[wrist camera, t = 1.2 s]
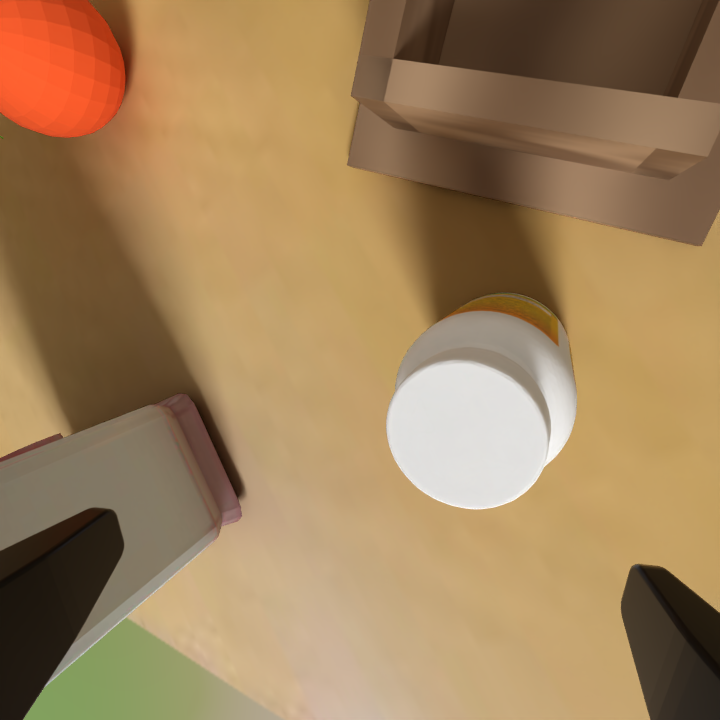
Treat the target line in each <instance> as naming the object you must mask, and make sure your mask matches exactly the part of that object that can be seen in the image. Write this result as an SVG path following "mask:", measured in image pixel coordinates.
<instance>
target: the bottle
mask: <svg viewBox="0 0 720 720" xmlns="http://www.w3.org/2000/svg"><path fill="white" fill-rule="evenodd" d="M92 507H99V508H108V509H112V510H114V511H115V512H116V514H117V517H118V520H119V524H120V528H121V531H122V535H123V539H124V551H123V554H122V557H121V559H120V560H119V562H118V564H117V566H116V568H115V570H114V571H113V573H112V575H111V577H110V579H109V580H108V582H107V584H106V586H105V588H104V590H103V591H102V593H101V595H100V597H99V599H98V600H97V602H96V604H95V606H94V608H93V610H92V611H91V613H90V615H89V617H88V619H87V620H86V622H85V624H84V626H83V627H82V629H81V631H80V633H79V634H78V636H77V638H76V640H75V641H74V643H73V644H72V646H71V647H70V649H69V651H68V652H67V654H66V655H65V657H64V658H63V660H62V661H61V663H60V664H59V666H58V667H57V669H56V670H55V672H54V673H53V675H52V676H51V678H50V679H49V681H48V682H47V684H46V685H48V684H49V683H50V682H51V681H52V680H53V679H55V678H56V677H57V676H58V675H59V674H60V673H62V672H63V671H64V670H65V669H66V668H67V667H68V666H70V665H71V664H72V663H73V662H74V661H76V660H77V659H78V658H79V657H80V656H81V655H83V654H84V653H85V652H86V651H87V650H88V649H90V647H92V646H93V645H94V644H95V643H97V642H98V641H99V640H100V639H101V638H102V637H103V636H105V635H106V634H107V633H108V632H109V631H110V630H111V629H113V628H114V627H115V626H116V625H117V624H118V623H120V622H121V621H122V620H123V619H124V618H126V617H127V616H128V615H129V614H130V613H131V612H133V611H134V610H135V609H136V608H137V607H138V606H140V605H141V604H142V603H143V602H144V601H145V600H147V599H148V598H149V597H150V596H151V595H152V594H153V593H155V592H156V591H157V590H158V589H159V588H160V587H162V586H163V585H164V584H165V583H166V582H167V581H169V580H170V579H171V578H172V577H173V576H174V575H176V574H177V573H178V572H179V571H180V570H181V569H183V568H184V567H185V566H186V565H187V564H188V563H190V562H191V561H192V560H193V559H194V558H195V557H197V556H198V555H199V554H200V553H201V552H202V551H203V550H205V549H206V548H207V547H208V546H209V545H210V544H212V543H213V542H214V541H215V540H216V539H217V537H218V536H219V533H220V529H221V526H224V525H227V524H230V523H234V522H237V521H238V520H239V519H240V518H241V517H242V513H241V506H240V504H239V501H238V498H237V496H236V494H235V492H234V489H233V487H232V485H231V483H230V481H229V478H228V476H227V474H226V472H225V470H224V467H223V465H222V463H221V461H220V459H219V456H218V454H217V452H216V450H215V447H214V445H213V443H212V441H211V439H210V436H209V434H208V432H207V430H206V428H205V425H204V423H203V421H202V419H201V417H200V414H199V412H198V410H197V408H196V406H195V404H194V403H193V401H192V400H191V399H190V398H189V397H188V395H187V394H181V393H179V394H176V395H174V396H172V397H170V398H167V399H165V400H163V401H161V402H159V403H156V404H154V405H152V404H150V405H147V406H145V407H142V408H140V409H137V410H134V411H132V412H129V413H127V414H124V415H122V416H119V417H116V418H114V419H111V420H109V421H106V422H103V423H101V424H98V425H96V426H93V427H90V428H88V429H85V430H83V431H80V432H78V433H75V434H72V435H70V436H67V437H65V438H63V436H62V435H61V434H60V433H59V434H56V435H54V436H51V437H48V438H46V439H43V440H41V441H38V442H35V443H33V444H31V445H28V446H26V447H24V448H21V449H19V450H17V451H15V452H12V453H10V454H8V455H6V456H4V457H2V458H0V551H1V550H3V549H5V548H7V547H9V546H11V545H13V544H15V543H17V542H20V541H22V540H24V539H26V538H28V537H30V536H32V535H34V534H36V533H38V532H40V531H42V530H45V529H47V528H49V527H51V526H53V525H55V524H57V523H59V522H61V521H63V520H65V519H68V518H70V517H72V516H74V515H76V514H78V513H80V512H82V511H84V510H86V509H89V508H92ZM46 685H45V686H46Z"/></svg>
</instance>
